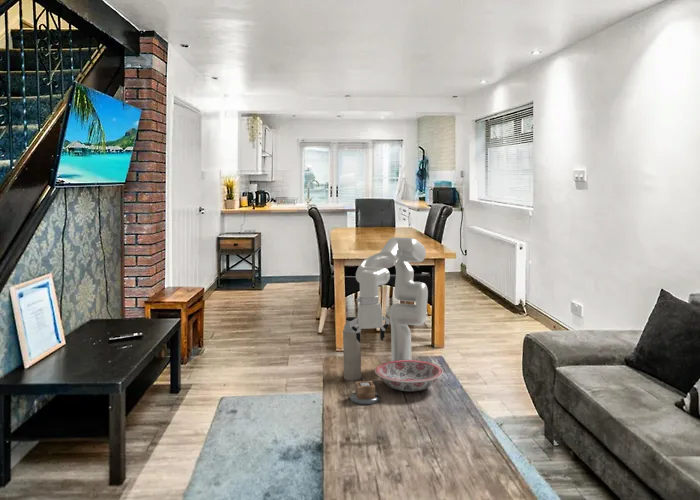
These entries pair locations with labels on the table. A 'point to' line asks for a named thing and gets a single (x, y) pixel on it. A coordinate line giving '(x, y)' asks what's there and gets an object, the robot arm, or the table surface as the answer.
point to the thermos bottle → (351, 352)
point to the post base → (365, 401)
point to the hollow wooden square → (365, 390)
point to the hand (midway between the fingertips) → (370, 340)
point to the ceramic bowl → (408, 374)
